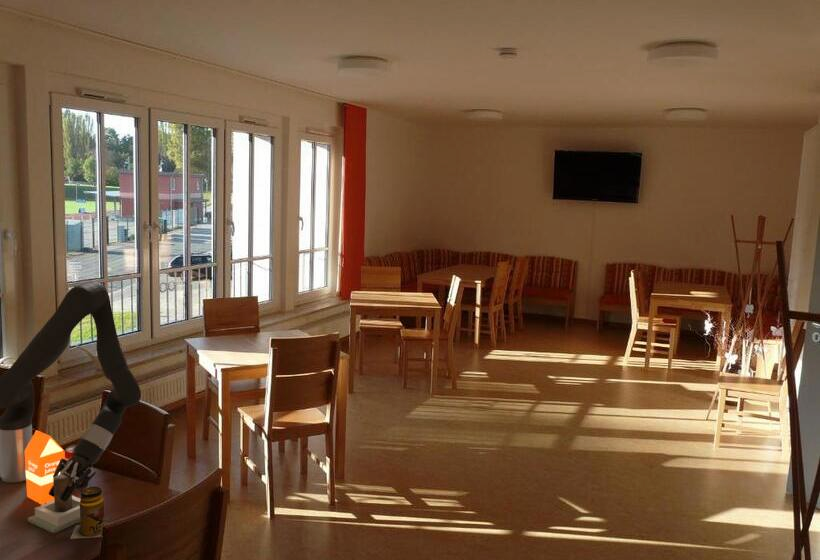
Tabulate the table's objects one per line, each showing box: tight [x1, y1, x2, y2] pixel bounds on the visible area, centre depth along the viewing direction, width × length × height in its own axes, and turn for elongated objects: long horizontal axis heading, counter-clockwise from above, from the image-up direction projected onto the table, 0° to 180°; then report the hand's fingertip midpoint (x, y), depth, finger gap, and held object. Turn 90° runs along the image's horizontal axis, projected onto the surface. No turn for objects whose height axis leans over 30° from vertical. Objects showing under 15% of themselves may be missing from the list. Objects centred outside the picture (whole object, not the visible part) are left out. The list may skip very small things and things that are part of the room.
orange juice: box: [24, 429, 66, 506], centre depth 211 cm, size 8×9×20 cm
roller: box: [53, 474, 73, 513], centre depth 199 cm, size 4×4×10 cm
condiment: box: [69, 486, 108, 540], centre depth 192 cm, size 7×8×12 cm
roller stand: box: [27, 494, 81, 534], centre depth 200 cm, size 12×14×4 cm
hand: (56, 497), depth 198 cm, fingers closed on roller, 4 cm apart
